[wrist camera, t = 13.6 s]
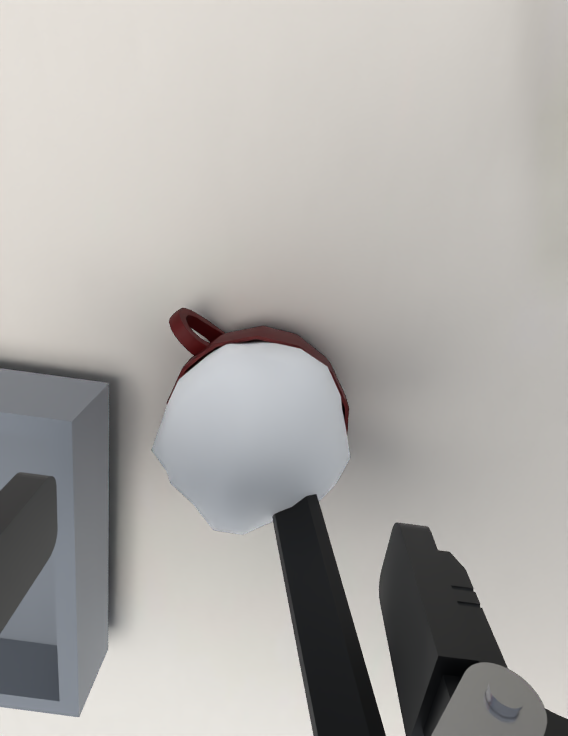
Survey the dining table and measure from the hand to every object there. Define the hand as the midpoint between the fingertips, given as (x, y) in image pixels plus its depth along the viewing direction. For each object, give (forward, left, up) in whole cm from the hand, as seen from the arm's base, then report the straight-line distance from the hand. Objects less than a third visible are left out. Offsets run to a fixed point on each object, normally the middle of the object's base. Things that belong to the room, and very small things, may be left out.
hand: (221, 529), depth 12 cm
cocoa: (0, 0, -9) cm, 9 cm away
